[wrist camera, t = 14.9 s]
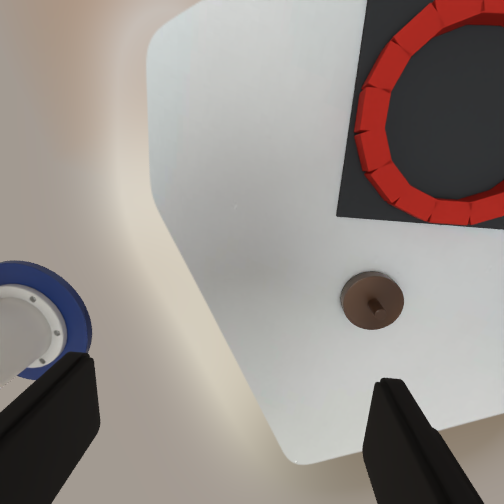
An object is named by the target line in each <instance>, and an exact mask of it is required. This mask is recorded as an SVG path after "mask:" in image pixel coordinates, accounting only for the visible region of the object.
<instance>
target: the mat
mask: <svg viewBox="0 0 504 504" xmlns="http://www.w3.org/2000/svg"><path fill="white" fill-rule="evenodd" d="M433 1H434V0H368V2H367V9H366V15H365V22H364V29H363V36H362V43H361V50H360V57H359V63H358V70H357V77H356V84H355V91H354V98H353V105H352V112H351V118H350V125H349V132H348V139H347V146H346V153H345V160H344V167H343V173H342V180H341V187H340V194H339V201H338V208H337V215H336V216H337V217H350V218H363V219H375V220H388V221H401V222H414V223H427V224H440V225H453V226H466V227H478V228H491V229H504V216H501V217H498V218H494V219H491V220H487V221H484V222H480V223H477V224H473V225H470V224H468V225H454V224H441V223H430V222H427V221H423V220H420V219H418V218H415V217H413V216H411V215H410V214H408V213H406V212H404V211H402V210H400V209H398V208H396V207H394V206H392V205H390V204H388V203H387V201H384V200H383V198H382V197H381V196H380V194H379V193H378V192H377V191H376V189H375V188H374V187H373V185H372V184H371V183H370V181H369V180H368V179H367V178H366V176H365V175H364V174H365V173H366V172H367V171H362V167H361V163H360V159H359V155H358V150H357V146H356V142H355V138H354V136H355V135H358V134H360V133H354V128H355V122H356V115H357V108H358V101H359V95H360V92H361V91H363V90H362V89H361V88H362V86H363V84H364V82H365V81H366V79H367V77H368V75H369V73H370V71H371V69H372V68H373V66H374V64H375V62H376V60H377V58H378V56H379V55H380V53H381V51H382V50H383V48H384V47H385V46H386V44H387V43H388V42H389V41H390V40H391V39H392V38H393V37H394V36H395V35H396V34H397V33H398V32H399V31H400V30H401V29H402V28H403V27H404V26H405V25H407V24H408V23H409V22H410V21H411V20H412V19H413V18H414V17H415V16H416V15H417V14H418V13H420V12H421V11H422V10H423V9H424V8H425V7H426V6H427V5H428V4H429V3H432V2H433ZM385 131H386V136H387V141H388V145H389V150H390V155H391V159H392V162H393V163H394V164H395V166H396V167H397V168H398V170H399V171H400V172H401V174H402V175H403V176H404V178H405V179H406V180H407V182H408V183H409V184H410V186H412V187H414V188H416V189H418V190H420V191H422V192H424V193H426V194H428V195H430V196H431V197H433V198H441V199H455V200H458V199H461V198H465V197H468V196H471V195H475V194H478V193H481V192H485V191H488V190H490V189H492V188H493V187H494V186H496V185H497V184H499V183H500V182H502V181H503V180H504V27H503V26H494V25H464V26H462V27H459V28H457V29H454V30H452V31H449V32H446V33H444V34H441V35H439V36H436V37H434V38H432V39H430V40H429V41H428V42H427V43H426V44H425V45H424V46H423V47H421V48H420V49H419V50H418V51H417V52H416V53H415V54H414V55H412V56H411V58H410V60H409V61H408V63H407V65H406V67H405V68H404V70H403V72H402V74H401V75H400V77H399V79H398V81H397V82H396V84H395V86H394V88H393V89H392V91H391V96H390V101H389V107H388V113H387V119H386V124H385Z"/></svg>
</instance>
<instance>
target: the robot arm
mask: <svg viewBox="0 0 504 504" xmlns="http://www.w3.org/2000/svg"><path fill="white" fill-rule="evenodd" d="M66 342H67V327H66V324H65V320H64V318H63V316H62V314H61V312H60V311H59V309H58V308H57V307H56V305H55V304H54V303H53V302H52V301H51V300H50V299H49V298H48V297H46V296H45V295H44V294H43V293H41V292H39V291H37V290H36V289H34V288H31V287H28V286H25V285H20V284H6V285H1V286H0V388H2V387H3V386H4V385H6V384H7V383H8V382H9V381H11V380H12V379H13V378H14V377H16V376H17V375H18V374H19V373H21V372H22V371H23V370H24V369H26V368H36V367H42V366H45V365H47V364H49V363H51V362H52V361H54V360H55V359H56V358H57V357H58V356H59V355H60V354H61V353H62V351H63V350H64V348H65V345H66ZM96 386H97V385H96V377H95V367H94V360H93V358H90V356H89V354H88V353H84V352H72V351H71V352H68V353H66V354H65V355H64V356H63V357H62V358H60V359H59V360H58V361H57V362H56V363H55V364H54V365H53V366H52V367H50V368H49V369H48V370H47V371H46V372H45V373H44V374H43V375H42V376H40V377H39V378H38V379H37V380H36V381H35V382H34V383H33V384H32V385H30V386H29V387H28V388H27V389H26V390H25V391H24V392H23V393H21V394H20V395H19V396H18V397H17V398H16V399H15V400H14V401H13V402H11V403H10V405H8V406H7V407H6V408H5V409H4V410H3V411H2V412H0V504H51V503H52V502H53V500H54V499H55V497H56V495H57V494H58V492H59V491H60V489H61V488H62V486H63V485H64V483H65V482H66V480H67V478H68V477H69V476H70V474H71V473H72V471H73V470H74V468H75V467H76V465H77V464H78V462H79V461H80V459H81V458H82V456H83V455H84V453H85V451H86V450H87V448H88V447H89V445H90V444H91V442H92V441H93V439H94V438H95V436H96V435H97V433H98V430H99V427H100V414H99V406H98V405H99V404H98V395H97V387H96ZM363 458H364V462H365V465H366V469H367V472H368V475H369V478H370V481H371V484H372V487H373V491H374V494H375V497H376V500H377V503H378V504H484V503H483V501H482V499H481V498H480V496H479V495H478V493H477V491H476V490H475V488H474V487H473V485H472V484H471V482H470V480H469V479H468V477H467V476H466V474H465V473H464V471H463V469H462V468H461V467H460V465H459V463H458V462H457V460H456V458H455V457H454V455H453V454H452V452H451V451H450V449H449V448H448V446H447V444H446V443H445V441H444V440H443V438H442V436H441V435H440V434H439V432H438V431H437V430H436V429H434V428H432V427H431V425H430V423H429V422H428V420H427V419H426V417H425V415H424V414H423V412H422V411H421V409H420V407H419V406H418V404H417V403H416V401H415V399H414V398H413V396H412V394H411V393H410V391H409V390H408V388H407V386H406V385H405V383H404V382H403V381H402V380H401V379H392V378H382V379H381V380H380V382H376V383H375V386H374V391H373V396H372V401H371V406H370V411H369V417H368V422H367V427H366V432H365V437H364V442H363Z"/></svg>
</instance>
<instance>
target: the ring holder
mask: <svg viewBox="0 0 504 504" xmlns="http://www.w3.org/2000/svg"><path fill="white" fill-rule="evenodd" d="M341 305H342V308H343V311H344V313H345V315H346V317H347V318H348V319H349V321H350V322H351V323H353V324H354V325H356V326H357V327H360V328H363V329H368V330H375V329H381V328H384V327H386V326H388V325H390V324H391V323H393V322H394V321H395V320H396V319H397V318H398V317H399V315H400V314H401V312H402V309H403V305H404V297H403V293H402V291H401V289H400V287H399V286H398V285H397V284H396V283H395V282H394V281H393V280H392V279H391V278H390V277H388V276H387V275H385V274H382V273H379V272H365V273H361V274H358V275H356V276H355V277H353V278H352V279H350V280H349V281H348V282H347V283H346V285H345V286H344V288H343V290H342V293H341Z"/></svg>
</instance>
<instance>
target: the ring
mask: <svg viewBox="0 0 504 504" xmlns="http://www.w3.org/2000/svg"><path fill="white" fill-rule="evenodd" d="M464 25H494V26H503V27H504V0H434V1H433V2H432V3H429V4H428V5H427V6H426V7H425V8H424V9H423V10H422V11H421V12H420V13H418V14H417V15H416V16H415V17H414V18H413V19H412V20H411V21H410V22H409V23H408V24H407V25H405V26H404V27H403V28H402V29H401V30H400V31H399V32H398V33H397V34H396V35H395V36H394V37H393V38H392V39H391V40H390V41H389V42H388V43H387V44H386V46H385V47H384V48H383V50H382V51H381V53H380V55H379V56H378V58H377V60H376V62H375V64H374V66H373V68H372V69H371V71H370V73H369V75H368V77H367V79H366V81H365V82H364V84H363V86H362V88H361V89H362V90H363V91H361V92H360V95H359V101H358V108H357V115H356V122H355V128H354V133H360V134H358V135H355V136H354V138H355V142H356V146H357V150H358V155H359V159H360V163H361V167H362V171H367V172H366V173H365V174H364V175H365V176H366V178H367V179H368V180H369V181H370V183H371V184H372V185H373V187H374V188H375V189H376V191H377V192H378V193H379V194H380V196H381V197H382V198H383V200H384V201H387V203H388V204H390V205H392V206H394V207H396V208H398V209H400V210H402V211H404V212H406V213H408V214H410V215H411V216H413V217H415V218H418V219H420V220H423V221H427V222H430V223H441V224H454V225H468V224H470V225H473V224H477V223H480V222H484V221H487V220H491V219H494V218H498V217H501V216H504V180H503V181H502V182H500V183H499V184H497V185H496V186H494V187H493V188H492V189H490V190H488V191H485V192H481V193H478V194H475V195H471V196H468V197H465V198H461V199H458V200H455V199H441V198H433V197H431V196H430V195H428V194H426V193H424V192H422V191H420V190H418V189H416V188H414V187H412V186H410V184H409V183H408V182H407V180H406V179H405V178H404V176H403V175H402V174H401V172H400V171H399V170H398V168H397V167H396V166H395V164H394V163H393V162H392V159H391V155H390V150H389V145H388V141H387V136H386V131H385V124H386V119H387V113H388V107H389V101H390V96H391V91H392V89H393V88H394V86H395V84H396V82H397V81H398V79H399V77H400V75H401V74H402V72H403V70H404V68H405V67H406V65H407V63H408V61H409V60H410V58H411V56H412V55H414V54H415V53H416V52H417V51H418V50H419V49H420V48H421V47H423V46H424V45H425V44H426V43H427V42H428V41H429V40H430V39H432V38H434V37H436V36H439V35H441V34H444V33H446V32H449V31H452V30H454V29H457V28H459V27H462V26H464Z"/></svg>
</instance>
